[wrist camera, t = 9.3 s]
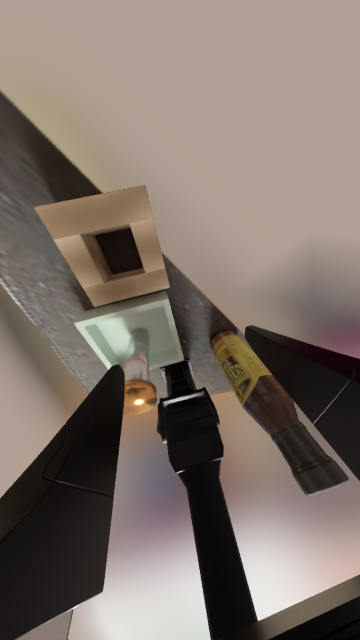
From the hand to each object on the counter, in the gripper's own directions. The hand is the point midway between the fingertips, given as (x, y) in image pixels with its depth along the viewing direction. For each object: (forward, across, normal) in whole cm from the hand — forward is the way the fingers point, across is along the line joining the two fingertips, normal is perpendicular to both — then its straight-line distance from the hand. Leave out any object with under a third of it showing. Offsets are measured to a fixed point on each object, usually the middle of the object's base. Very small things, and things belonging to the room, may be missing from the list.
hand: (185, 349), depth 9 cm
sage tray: (+13, +6, +6) cm, 16 cm away
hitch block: (+13, +4, -6) cm, 15 cm away
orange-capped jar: (+12, +6, +6) cm, 15 cm away
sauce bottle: (+13, -9, +14) cm, 21 cm away
